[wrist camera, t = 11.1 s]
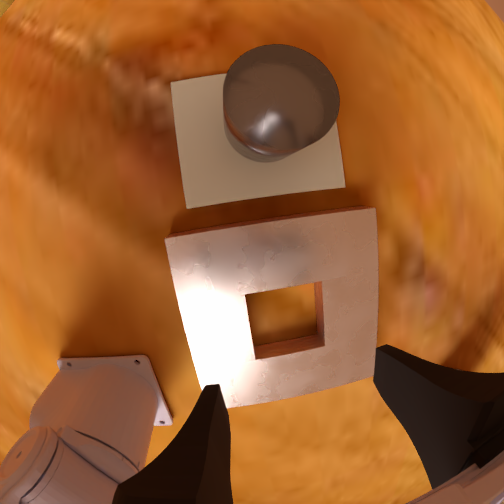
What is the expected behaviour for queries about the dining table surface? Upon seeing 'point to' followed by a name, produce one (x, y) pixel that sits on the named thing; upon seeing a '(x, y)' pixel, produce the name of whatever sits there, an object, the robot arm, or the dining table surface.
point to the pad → (231, 162)
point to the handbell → (4, 5)
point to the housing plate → (275, 277)
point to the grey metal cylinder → (277, 102)
